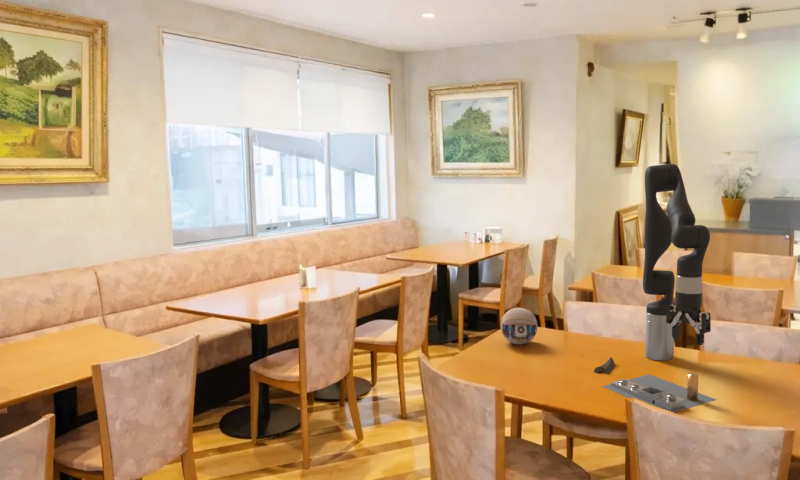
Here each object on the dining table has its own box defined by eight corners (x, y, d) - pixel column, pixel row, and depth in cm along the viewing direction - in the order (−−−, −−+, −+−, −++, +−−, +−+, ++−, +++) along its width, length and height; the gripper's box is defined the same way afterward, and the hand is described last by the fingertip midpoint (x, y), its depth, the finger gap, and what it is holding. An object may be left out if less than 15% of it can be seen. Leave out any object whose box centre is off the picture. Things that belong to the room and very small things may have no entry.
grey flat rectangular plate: (649, 375, 213) (649, 374, 213) (716, 400, 190) (716, 399, 190) (601, 387, 204) (601, 386, 204) (666, 415, 181) (666, 414, 181)
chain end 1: (624, 382, 207) (624, 377, 207) (666, 399, 192) (666, 394, 191) (610, 385, 204) (610, 380, 204) (652, 403, 189) (652, 397, 189)
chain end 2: (649, 392, 197) (650, 382, 197) (684, 407, 185) (685, 396, 185) (636, 396, 195) (636, 386, 194) (670, 411, 183) (671, 400, 182)
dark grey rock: (606, 376, 214) (606, 366, 214) (593, 374, 218) (593, 364, 217) (622, 367, 223) (622, 357, 223) (609, 364, 227) (609, 355, 226)
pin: (691, 396, 193) (692, 372, 192) (699, 399, 190) (700, 375, 189) (684, 398, 192) (685, 373, 191) (693, 401, 189) (693, 376, 188)
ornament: (493, 344, 254) (492, 308, 252) (515, 336, 264) (515, 302, 262) (523, 351, 243) (523, 314, 241) (544, 343, 253) (544, 307, 251)
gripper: (717, 292, 182) (716, 345, 184) (678, 284, 195) (676, 334, 197) (700, 295, 179) (698, 349, 181) (661, 287, 192) (659, 337, 194)
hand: (687, 341), depth 189 cm, fingers open, 8 cm apart
